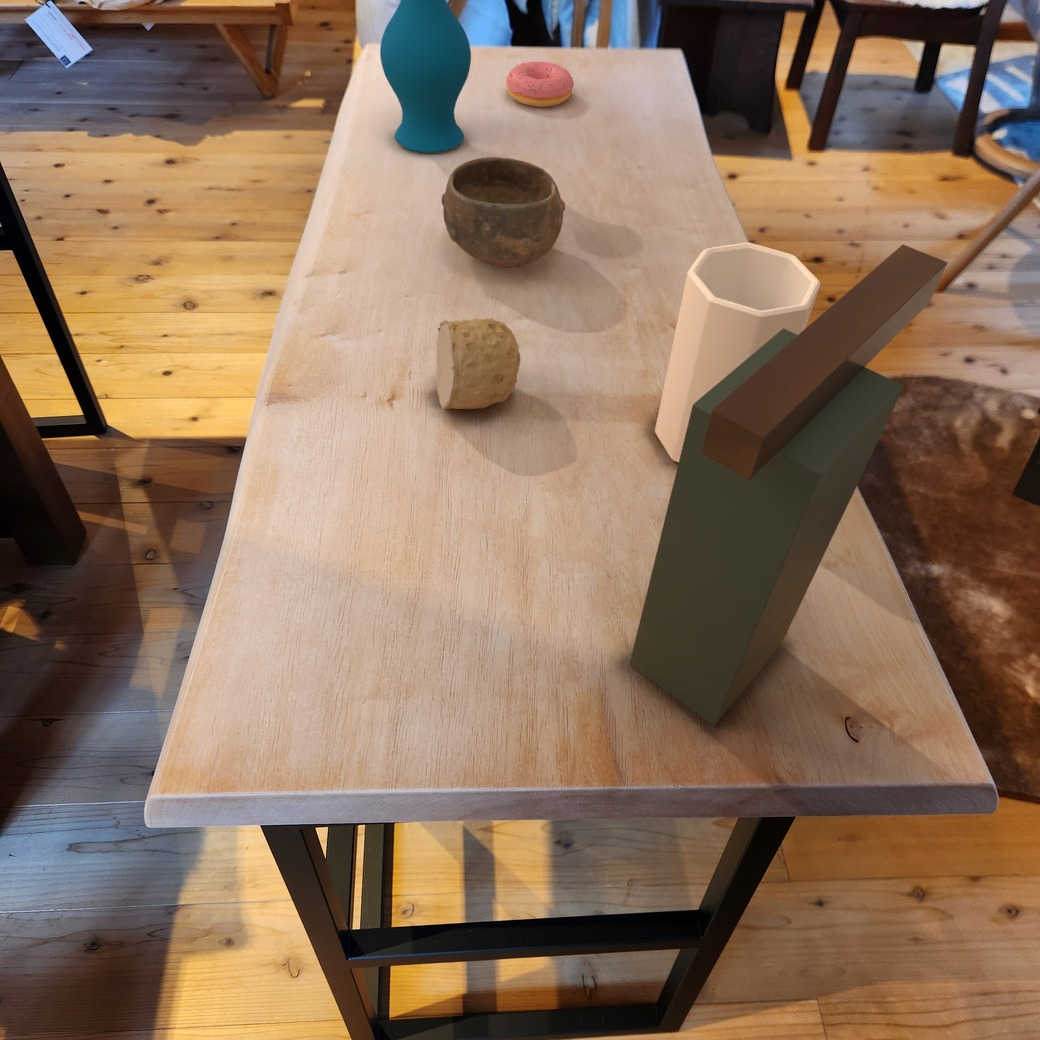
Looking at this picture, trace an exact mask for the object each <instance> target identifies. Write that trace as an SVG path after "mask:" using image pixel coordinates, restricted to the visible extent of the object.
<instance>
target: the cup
mask: <svg viewBox="0 0 1040 1040" xmlns="http://www.w3.org/2000/svg"><path fill="white" fill-rule="evenodd" d="M684 283H685V284H684V288H683V294H682V298H681V303H680V308H679V312H678V318H677V322H676V327H675V332H674V337H673V341H672V346H671V349H670V350H671V351H670V356H669V361H668V365H667V370H666V375H665V379H664V385H663V390H662V394H661V399H660V403H659V404H660V405H659V407H658V408H659V409H658V414H657V419H656V423H655V427H654V433H655V435H656V436H657V438H658V439H659V442H660V443H661V444H662V446H663V448H664V449H665V451H666V452H667V454H668V456H669V457H670V459H671V460H672V461H673V462H676V463H679V459H680V455H681V451H682V447H683V443H684V439H685V435H686V430H687V426H688V422H689V418H690V414H691V410H692V406H693V404H694V403H695V402H696V401H698V400H699V399H700V398H701V397H702V396H703V395H705V394H706V393H707V392H708V391H709V390H711V389H712V388H713V387H714V386H715V385H717V384H718V383H719V382H720V381H721V380H722V379H724V378H725V377H726V376H727V375H728V374H730V373H731V372H732V371H733V370H734V369H736V368H737V367H738V366H739V365H740V364H741V363H743V362H744V361H745V360H746V359H747V358H749V357H750V356H751V355H752V354H753V353H755V352H756V351H757V350H758V349H759V348H760V347H762V346H763V345H764V344H765V343H766V342H768V341H769V340H770V339H771V338H772V337H773V336H775V335H776V334H777V333H778V332H779V331H781V330H782V329H783V328H784V329H786V330H788V331H790V332H792V333H795V334H797V335H799V334H800V333H801V332H802V331H803V330H804V329H806V328H807V325H808V322H809V320H810V316H811V313H812V311H813V308H814V305H815V302H816V299H817V296H818V293H819V290H820V287H821V282H820V280H819V279H818V278H817V277H816V276H815V275H814V274H813V272H811V271H810V270H809V269H808V268H807V267H806V265H804V264H803V263H802V262H801V261H800V259H799V258H798V257H797V256H796V255H794V254H793V253H789V252H785V251H781V250H777V249H774V248H770V247H767V246H763V245H760V244H756V243H753V242H740V243H735V244H734V243H733V244H728V245H720V246H719V245H718V246H713V247H708V248H705V249H703V250H702V251H701V253H699V255H698V257H697V258H696V260H695V261H694V262H693V264H691V267H689V270H688V271H687V273H686V279H685V282H684Z"/></svg>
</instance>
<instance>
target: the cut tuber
mask: <svg viewBox="0 0 1040 1040" xmlns="http://www.w3.org/2000/svg"><path fill="white" fill-rule="evenodd" d="M437 331H438V337H437V342H436V377H437V379H436V380H437V381H436V383H437V384H436V397H437V398H438V402H439V404H440V406H441V408H442V410H449V409H456V410H457V409H459V410H460V409H461V410H463V409H465V410H466V409H467V410H470V409H472V410H475V409H481V410H482V409H485V408H488V407H490V406H491V405H495V404H496V403H498V404H499V403H502V402H504V401H506V400H507V399H508V397H509V396H510V394H511V393H512V392H513V391H514V389H515V386H516V384H517V382H518V373H519V370H520V364H521V352H520V346H519V345H518V342H517V339H516V336H515V335H514V333H513V331H512V330H511V328H509V326H507V324H506V323H505V322H502V321H499V320H495V319H494V318H492V317H488V318H477V317H475V318H473V319H469V320H468V319H462V320H452V321H447V320H442V321H441V322H439V327H438V328H437Z"/></svg>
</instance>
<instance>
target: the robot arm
mask: <svg viewBox="0 0 1040 1040" xmlns="http://www.w3.org/2000/svg"><path fill="white" fill-rule="evenodd" d="M1037 414H1038V415H1040V406H1039V407H1038V410H1037ZM1011 496H1014V497H1016V498H1018V499H1021V500H1022V501H1025V502H1027V503H1031V504H1033V505H1035V506H1037V507H1040V436H1039V437H1038V438H1037V441H1036V443H1035V445H1034V447H1033V449H1032V452H1031V453H1030V456H1029V458H1028V460H1027V462H1026V464H1025V466H1024V468H1023V470H1022V472H1021V474H1020V476H1019V478H1018V481H1017V483H1016V485H1015V487H1014V489H1013V491H1012V493H1011Z"/></svg>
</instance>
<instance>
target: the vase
mask: <svg viewBox="0 0 1040 1040" xmlns="http://www.w3.org/2000/svg"><path fill="white" fill-rule="evenodd" d="M379 52H380V53H379V56H380V62H381V66H382V70H383V74H384V76H385V78H386V80H387V82H388V84H389V86H390V87H391V89H392V91H393V93H394V94H395V97H396V98H397V100H398V102H399V105H400V108H401V116H402V117H401V123H400V124H399V126H398V127H397V129H396V131H395V132H394V139H395V141H396V142H397V143H398V144H399V145H400V146H402V147H403V148H404V149H407V150H410V151H412V152H417V153H427V154H429V153H433V154H434V153H442V152H446V151H450V150H453V149H455V148H456V147H458V146H459V145H461V143H462V142H463V140H464V139H465V134H464V132H463V130H462V129H461V127H460V125H458V124H457V121H456V117H455V109H456V104H457V102H458V98H459V96H460V94H461V93H462V90H463V88H464V86H465V84H466V82H467V80H468V77H469V73H470V69H471V61H472V50H471V45H470V41H469V38H468V35H467V33H466V30H465V29H464V27H463V25H462V24H461V22H460V21H459V19H458V18H457V16H456V15H455V14H454V12H453V10H452V9H451V8H450V5H449V4H448V2H447V1H446V0H400V2H399V4H398V6H397V8H396V10H395V12H394V13H393V15H392V16H391V18H390V20H389V22H388V23H387V25H386V27H385V29H384V31H383V33H382V37H381V41H380V50H379Z"/></svg>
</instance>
